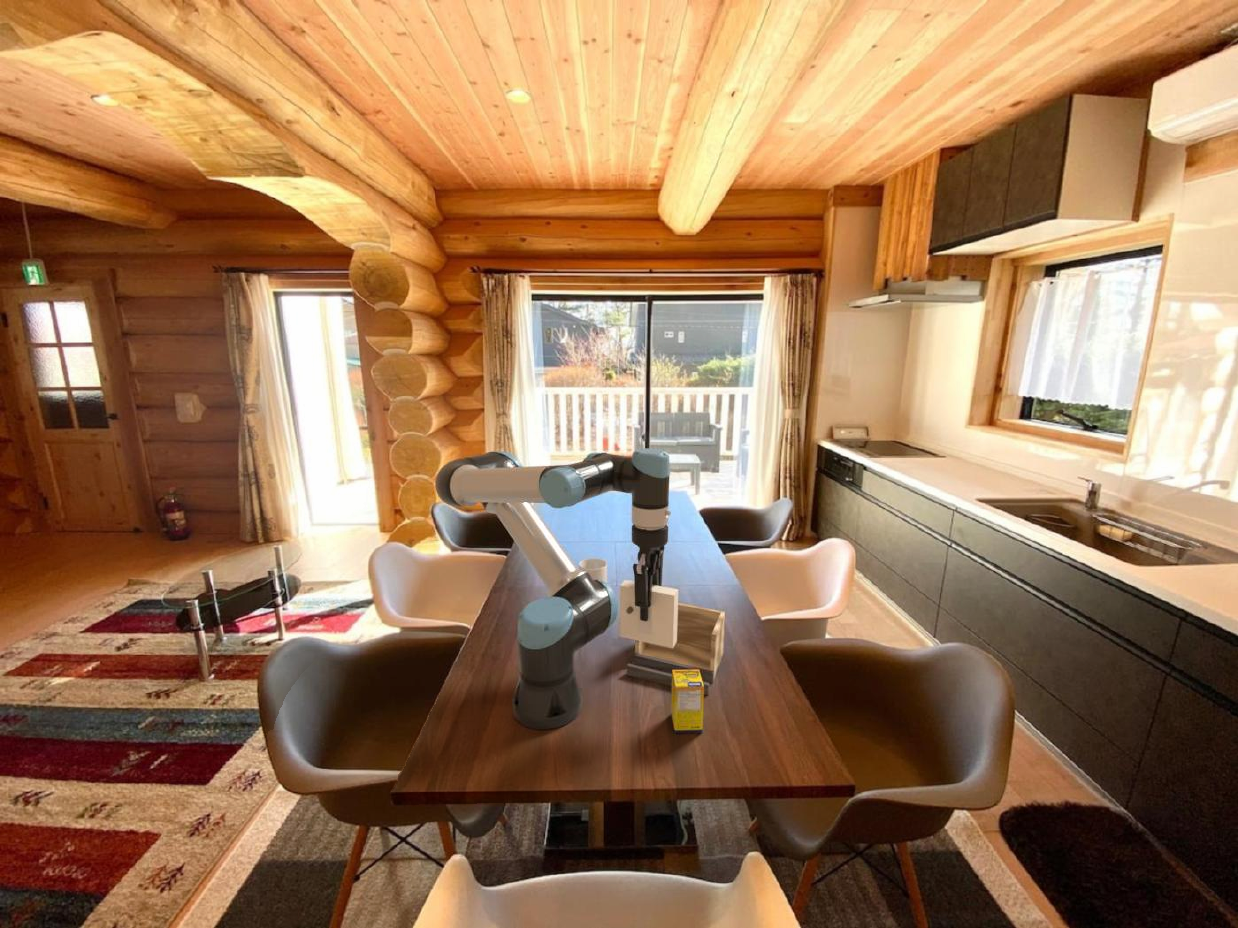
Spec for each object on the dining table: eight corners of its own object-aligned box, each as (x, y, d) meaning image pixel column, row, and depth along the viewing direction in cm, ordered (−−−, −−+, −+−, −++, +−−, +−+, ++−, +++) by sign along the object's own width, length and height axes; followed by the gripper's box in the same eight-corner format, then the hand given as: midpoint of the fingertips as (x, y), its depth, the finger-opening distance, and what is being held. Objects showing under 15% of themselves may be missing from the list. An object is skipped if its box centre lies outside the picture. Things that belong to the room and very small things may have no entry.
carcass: (708, 695, 118) (710, 647, 115) (626, 674, 125) (626, 629, 123) (723, 653, 134) (725, 611, 132) (650, 638, 141) (651, 597, 139)
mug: (604, 603, 161) (604, 570, 158) (576, 601, 162) (576, 568, 160) (610, 586, 172) (610, 555, 170) (584, 584, 174) (583, 553, 171)
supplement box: (697, 713, 112) (699, 668, 110) (702, 733, 106) (704, 686, 104) (670, 713, 112) (671, 668, 110) (674, 733, 106) (675, 686, 104)
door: (671, 650, 107) (672, 597, 105) (618, 638, 112) (618, 587, 109) (676, 641, 111) (678, 589, 108) (624, 629, 115) (625, 579, 113)
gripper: (654, 539, 98) (652, 651, 103) (678, 515, 112) (675, 614, 117) (618, 534, 100) (617, 643, 105) (645, 511, 115) (644, 608, 120)
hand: (648, 627), depth 111 cm, fingers closed on door, 3 cm apart
